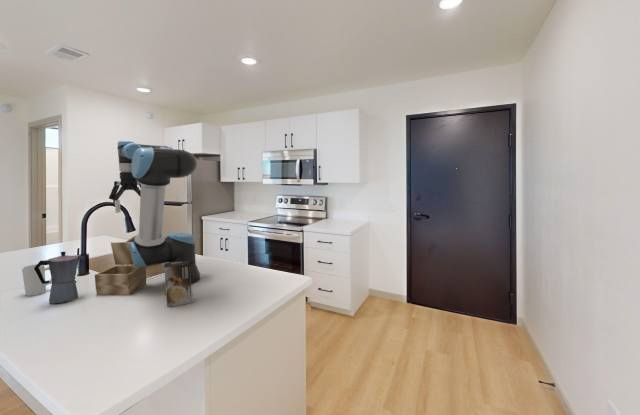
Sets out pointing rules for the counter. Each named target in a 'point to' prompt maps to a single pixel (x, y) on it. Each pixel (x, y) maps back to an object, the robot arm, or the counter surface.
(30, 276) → the mug
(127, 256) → the flap
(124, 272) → the carton
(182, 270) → the coffee box
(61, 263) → the moka pot
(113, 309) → the counter surface
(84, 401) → the counter surface
